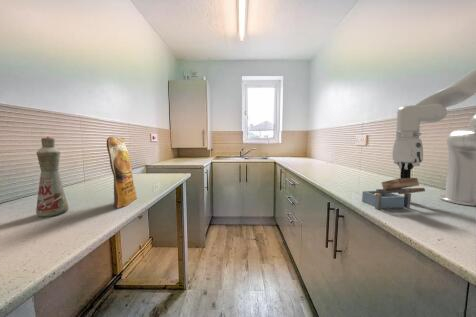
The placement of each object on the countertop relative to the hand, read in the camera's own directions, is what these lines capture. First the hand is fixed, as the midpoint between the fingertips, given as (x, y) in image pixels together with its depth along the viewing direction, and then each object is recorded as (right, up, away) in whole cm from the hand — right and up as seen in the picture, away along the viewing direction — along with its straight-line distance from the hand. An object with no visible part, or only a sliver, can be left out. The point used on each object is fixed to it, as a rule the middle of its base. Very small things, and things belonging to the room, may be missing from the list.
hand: (405, 178), depth 87 cm
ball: (-13, -8, -2) cm, 16 cm away
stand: (-12, -11, -9) cm, 19 cm away
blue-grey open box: (-13, -11, -4) cm, 17 cm away
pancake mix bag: (-121, -11, -1) cm, 122 cm away
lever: (-8, -5, -8) cm, 12 cm away
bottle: (-140, -12, -13) cm, 141 cm away
